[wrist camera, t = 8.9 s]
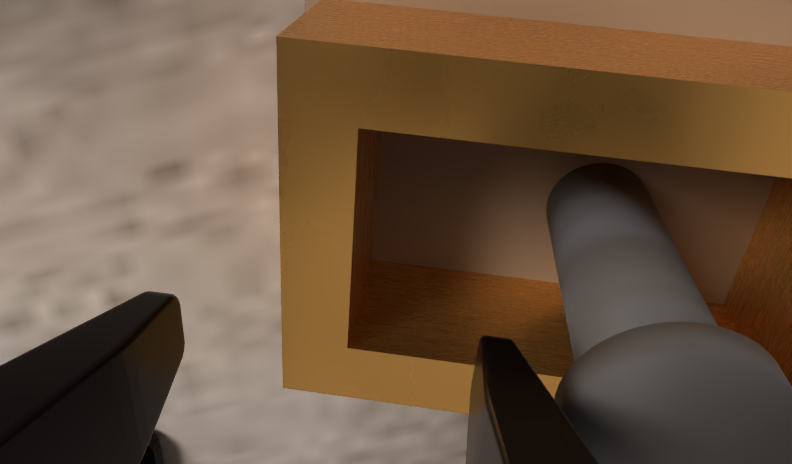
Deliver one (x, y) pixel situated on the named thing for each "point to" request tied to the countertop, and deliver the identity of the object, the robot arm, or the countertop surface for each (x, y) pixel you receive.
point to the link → (505, 125)
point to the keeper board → (510, 178)
